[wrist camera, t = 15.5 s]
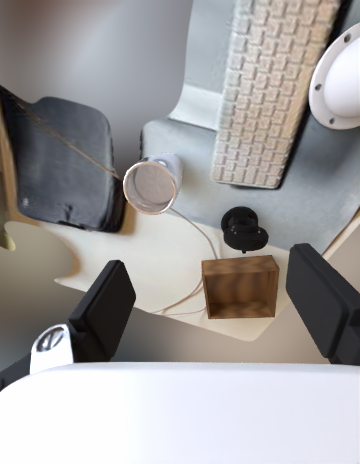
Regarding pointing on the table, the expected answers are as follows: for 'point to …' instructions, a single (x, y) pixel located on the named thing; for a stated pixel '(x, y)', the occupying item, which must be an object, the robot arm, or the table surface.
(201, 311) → the table surface
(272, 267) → the wooden box
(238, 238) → the webcam
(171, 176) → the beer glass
